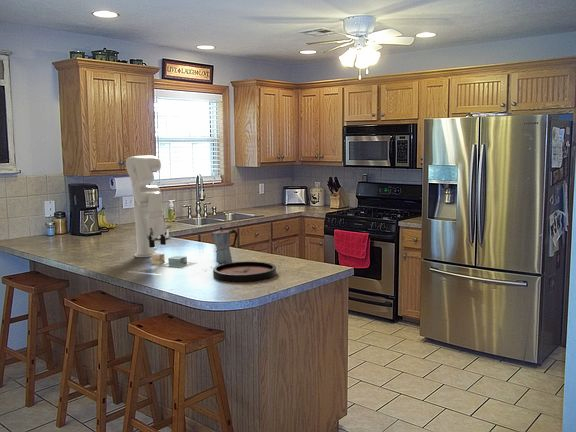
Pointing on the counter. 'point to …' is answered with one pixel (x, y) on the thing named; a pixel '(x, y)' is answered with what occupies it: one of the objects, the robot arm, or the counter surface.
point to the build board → (177, 266)
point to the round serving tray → (244, 272)
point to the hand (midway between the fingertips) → (157, 245)
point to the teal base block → (177, 260)
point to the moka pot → (223, 245)
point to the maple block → (157, 258)
